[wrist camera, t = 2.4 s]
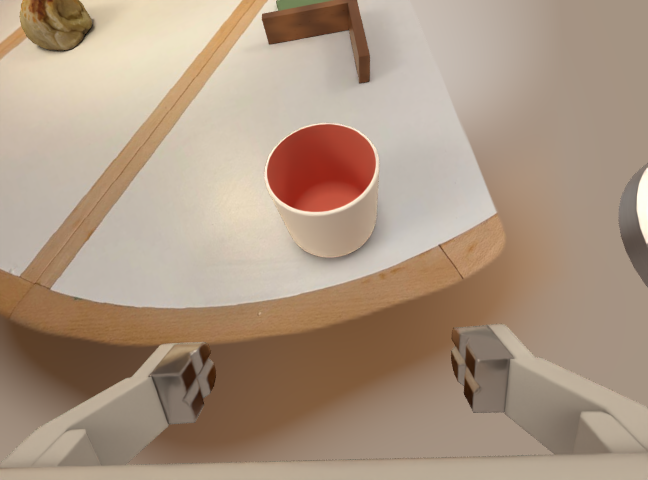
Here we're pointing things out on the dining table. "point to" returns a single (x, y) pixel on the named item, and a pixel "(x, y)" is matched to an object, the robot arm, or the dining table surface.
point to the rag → (296, 3)
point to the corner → (321, 27)
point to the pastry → (55, 23)
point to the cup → (325, 187)
